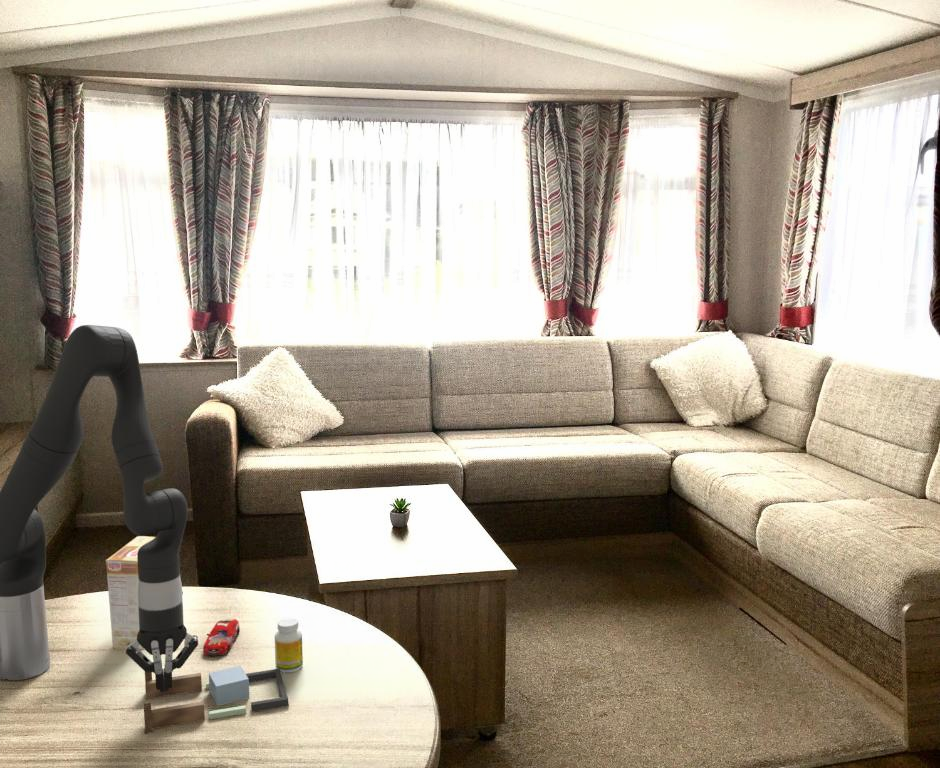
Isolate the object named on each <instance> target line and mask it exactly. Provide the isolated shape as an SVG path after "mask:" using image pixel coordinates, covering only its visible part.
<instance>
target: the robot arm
mask: <svg viewBox="0 0 940 768" xmlns="http://www.w3.org/2000/svg"><path fill="white" fill-rule="evenodd" d="M93 377H104V378H105V377H107V378H109V380H110V381H111V384H112V386H113V389H114V392H115V396H116V409H115V414H114V418H113V422H112V429H111V442H112V443H111V445H112V449H113V452H114V456H115V458H116V462H117V465H118V468H119V470H120V473H121V479H122V490H123V491H122V492H123V517H124V522H125V525H126V527H127V529H128V530H130V532H132V533H133V534H134V535H137V536H146V535H151V534H153V533H157V535H156V536H154V537H155V538H154V539H153V540H151V541H150V542H148V543H146V544H144V545H143V546H141V547H140V548H139V550H138V554H137V561H138V611H139V632H138V634H137V639H136V640H135V641H133V642H132V643H128V644H127V645H126V648H125V654H126V656H128V657H129V658H130V659H131V660H132V661H133V662H134V663H135V664H136V665H138V666H139V668H140V669H142V670H143V671H144V673H145V672H152V674H154V675H155V676H154V678H155V679H154V680H156V689H157V690H160V693H162V692H164V691H165V692H169V688H172V677H173V671H174V670H176V669H177V670H178V669H181V668H182V667H183V666H184V665H185V663H186V661H187V660H188V659H189V657H190V656H191V655H192V654H193V653H194V651H195V650H196V649H197V647H198V645H199V636H197V634H194V635H192V634H190V633H188V632H187V631H188V630H187V627H186V626H185V624H184V605H183V601H184V600H183V595H184V594H183V593H184V592H183V584H182V579H181V571H180V570H181V569H180V567H181V566H180V551H181V547H182V542H183V537H184V532H185V530H186V529H185V528H186V525H187V521H188V514H189V508H188V507H189V506H188V502H187V500H186V497H185V495H184V494H183V493H182V492H181V491H180V490H179V489H176V488H171V487H170V488H169V487H168V488H165V489H160V490H155V491H150V492H147V493H146V492H145V484H146V483H149V482H151V481H153V480H155V479H157V478H159V477H160V476H161V475H162V473H163V471H164V465H163V461H162V459H161V455H160V452H159V450H158V445H157V444H156V441H155V437H154V434H153V431H152V428H151V426H150V425H151V424H150V421H149V417H148V411H147V405H146V400H145V391H144V384H143V380H142V373H141V365H140V360H139V353H138V351H137V346H136V343H135V341H134V339H133V337H132V335H131V333H130V332H129V331H127V330H126V329H123V328H120V327H117V326H116V327H114V326H108V325H107V326H105V325H98V324H97V325H95V324H84V325H80V326H78V327H76V328H75V329H74V330H72V332H71V333H70V334H69V336H68V337H67V340H66V341H65V343H64V345H63V348H62V351H61V354H60V357H59V360H58V363H57V366H56V368H55V372H54V375H53V377H52V380H51V383H50V386H49V388H48V391H46V394H45V397H44V400H43V402H42V404H41V406H40V408H39V409H38V410H39V411H38V413H37V414H36V416H35V419H34V421H33V422H32V424H31V425H30V428H29V430H28V432H27V434H26V436H25V439H24V441H23V442H22V445H21V447H20V450H19V452H18V454H17V456H16V458H15V461H14V462H13V464H12V466H11V468H10V471H9V473H8V475H7V476H6V478H5V480H4V483H3V486H2V487H1V488H0V680H5V679H8V680H7V681H22V680H26V679H27V680H28V679H31V678H34V677H37V676H39V675H41V674H43V673H45V672H46V671H47V670H48V669H49V668H50V666H51V659H50V658H51V656H50V655H51V654H50V647H49V645H50V644H49V637H48V636H49V635H48V624H47V611H46V610H47V609H46V600H45V599H46V598H45V589H44V574H45V571H46V567H47V550H46V549H47V548H46V547H47V546H46V543H47V542H46V528H45V523H44V521H43V518H42V516H41V514H40V513H39V512H38V510H36V508H37V506H38V505H39V504H40V502H41V501H43V499H44V498H45V497H46V496H47V494H49V493H50V491H51V490H52V489H53V488H55V486H56V485H57V484H58V483H59V482H60V480H61V479H62V478H63V477H64V475H65V474H66V473H67V472H68V470H69V469H70V467H71V466H72V463H73V462H74V460H75V458H76V455H77V454H78V452H79V450H80V448H81V445H82V444H83V440H84V432H85V431H84V423H83V417H82V414H81V413H82V412H81V405H80V404H81V400H82V398H83V394H84V392H85V390H86V389H87V386H88V384H89V382H90V380H92V378H93ZM183 641H184V642H183ZM182 643H183V645H184V646H183V648H182V649H181V651H180V652H179V653H178V654H177V656H176V657H175V658H174V659H173V656H174V653H175V652H177V650H178V649H179V647H180V646H181V644H182ZM140 645H141V646H142V647H143V649H144V650H145V652H147V653H148V654H149V655H151V656H152V661H151V660H150V658H148V656H147V655H145V654H144V653H143V652H142V651H141V650H142V649H141V647H140ZM162 655H164V668H163V661H162Z"/></svg>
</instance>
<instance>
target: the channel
mask: <svg viewBox="0 0 940 768" xmlns="http://www.w3.org/2000/svg"><path fill="white" fill-rule="evenodd" d="M144 679H145V680H144V682H145V683H144V686H145V699H146V700H149V699H155V698H156V699H157V698H163V697H169V696H174V695H175V696H176V695H182V694H187V693H193V692H194V693H195V692H201V691H202V690H203V683H202V672H197V673H191V674H184V675H177V676H172V688H169V692H165V691H164V692H162V693H160V690H157V689H156V679H153V672H145V671H144ZM205 717H206V716H205V701H197V702H191V703H185V704H179V705H178V704H177V705H172V706H167V707H159V708H155V709H152V702H145V703H143V718H144V720H143V721H144V731H145V734H150V733H154V732H153V729H159V728H167V727H171V726H179V725H183V724H189V723H195V722H196V723H197V722H202V721H205V720H206V718H205Z"/></svg>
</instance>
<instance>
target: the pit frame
mask: <svg viewBox="0 0 940 768" xmlns="http://www.w3.org/2000/svg"><path fill="white" fill-rule="evenodd" d="M245 674H246V675H247V677H248V679H249V683H253V682H261V681H265V680H266V681H268V680H273V679H275V682H276V685H277V689H278V692H279V696H280V697H276V698H269V699H263V700H257V701H252V702H250V708H251V713H255V712H256V713H257V712H261V711H268V710H273V709H278V708H286V707H290V706H289V702H290V701H289V696H288V693H287V689H286V686H285V683H284V678H283V675H282V672H281V671H280V669H276V668H274V669H267V670H261V671H255V672H254V671H253V672H250V673H249V672H248V673H245Z"/></svg>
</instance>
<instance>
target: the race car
mask: <svg viewBox="0 0 940 768" xmlns="http://www.w3.org/2000/svg"><path fill="white" fill-rule="evenodd" d="M240 628H241V627H240V623H239V621H238V619H235V618H223V619H220V620H219V621H217V622H216V623H215V625H214V626H213V627H212V629H211V631H210V632H209V633H206V636H207V638H206V640H205V642H204V643H203V647H202V653H203V654H204V655H206V656H211V657H212V656H221V655H225V654H226V655H227V654H229V652H230V650H231V649H232V647H233V645H234V644H235V642H236V640H237V639H238V637H239V635H240V630H241V629H240Z"/></svg>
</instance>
